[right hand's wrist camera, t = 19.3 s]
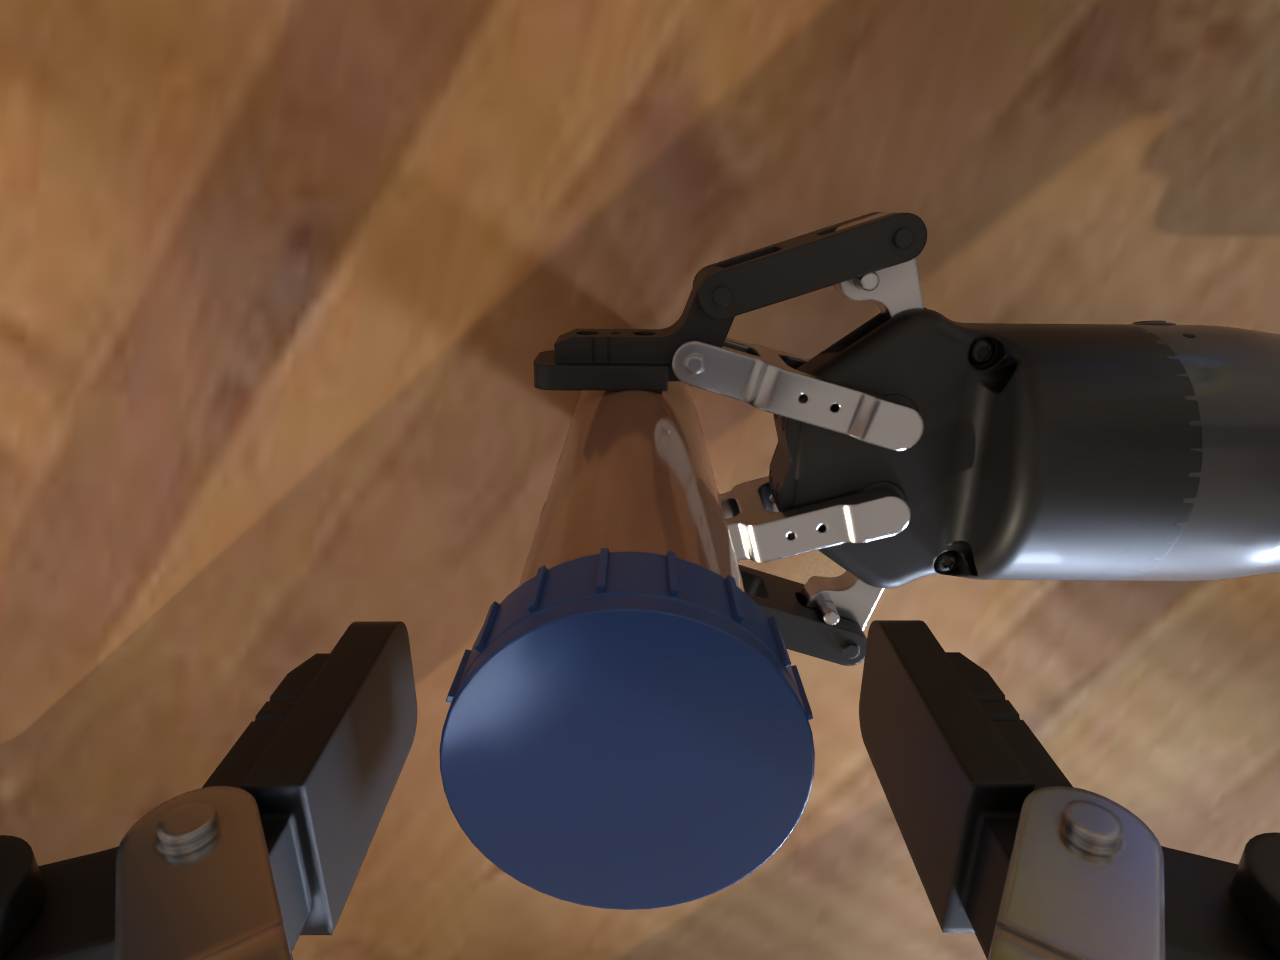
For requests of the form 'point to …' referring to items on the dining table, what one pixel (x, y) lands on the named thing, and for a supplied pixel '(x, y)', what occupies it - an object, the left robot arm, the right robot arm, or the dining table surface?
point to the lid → (627, 733)
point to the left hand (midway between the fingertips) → (543, 449)
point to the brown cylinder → (634, 485)
